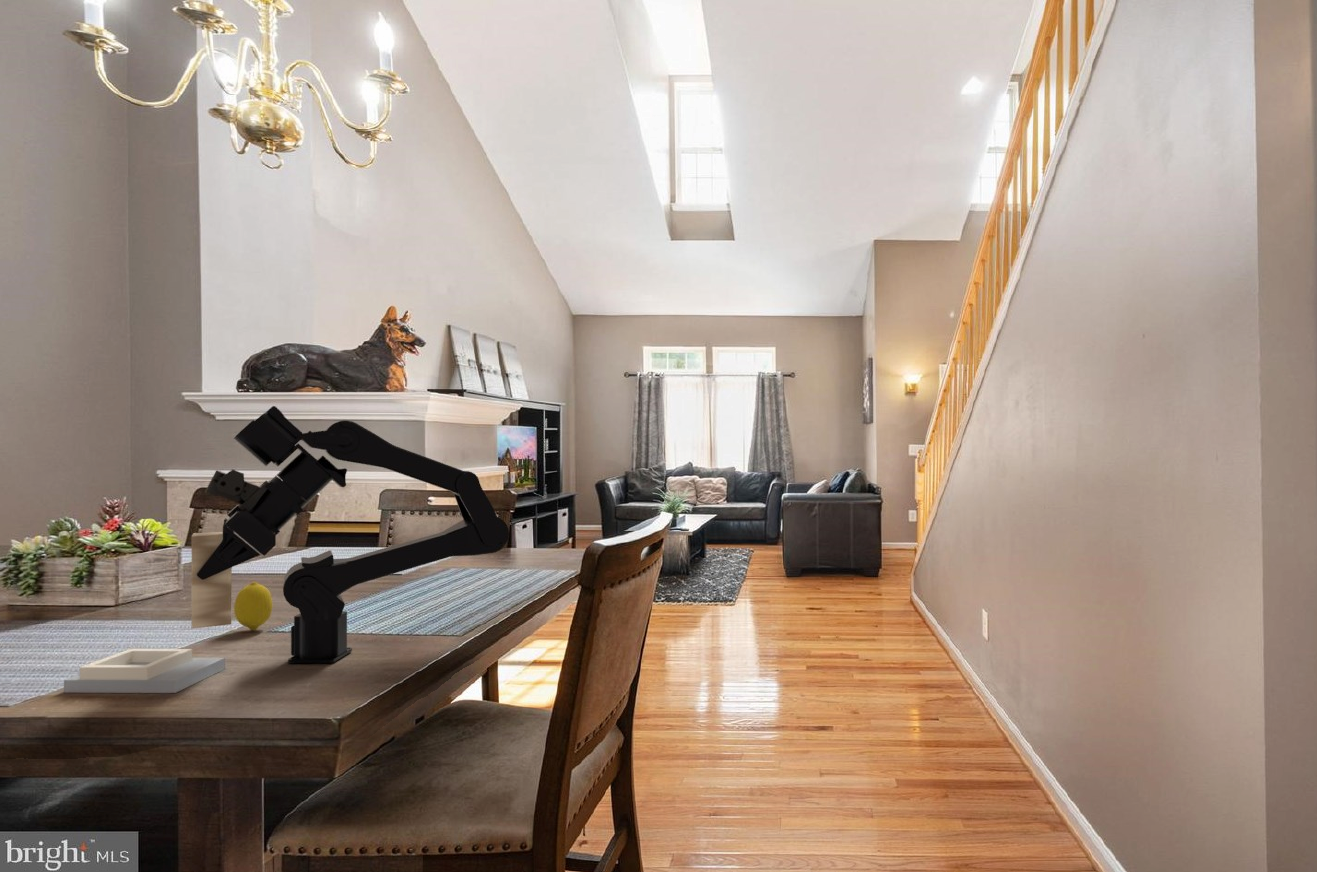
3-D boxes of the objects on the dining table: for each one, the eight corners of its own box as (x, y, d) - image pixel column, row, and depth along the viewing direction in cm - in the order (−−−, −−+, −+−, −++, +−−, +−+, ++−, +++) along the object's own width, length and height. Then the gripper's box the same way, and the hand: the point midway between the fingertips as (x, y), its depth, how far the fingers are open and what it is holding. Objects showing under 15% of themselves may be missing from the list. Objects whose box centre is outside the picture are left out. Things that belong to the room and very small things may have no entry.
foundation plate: (225, 668, 101) (225, 646, 101) (175, 692, 91) (175, 668, 91) (124, 668, 102) (124, 646, 102) (63, 692, 92) (64, 667, 92)
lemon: (230, 630, 123) (230, 581, 123) (267, 625, 127) (267, 577, 127) (239, 636, 119) (239, 586, 119) (276, 630, 123) (276, 582, 123)
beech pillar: (231, 617, 103) (231, 531, 104) (231, 624, 99) (231, 534, 100) (193, 621, 101) (193, 533, 101) (191, 628, 97) (191, 536, 97)
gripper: (245, 449, 111) (155, 528, 105) (246, 449, 94) (140, 542, 89) (304, 500, 114) (220, 579, 109) (314, 508, 98) (217, 601, 93)
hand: (200, 574), depth 100 cm, fingers closed on beech pillar, 4 cm apart
